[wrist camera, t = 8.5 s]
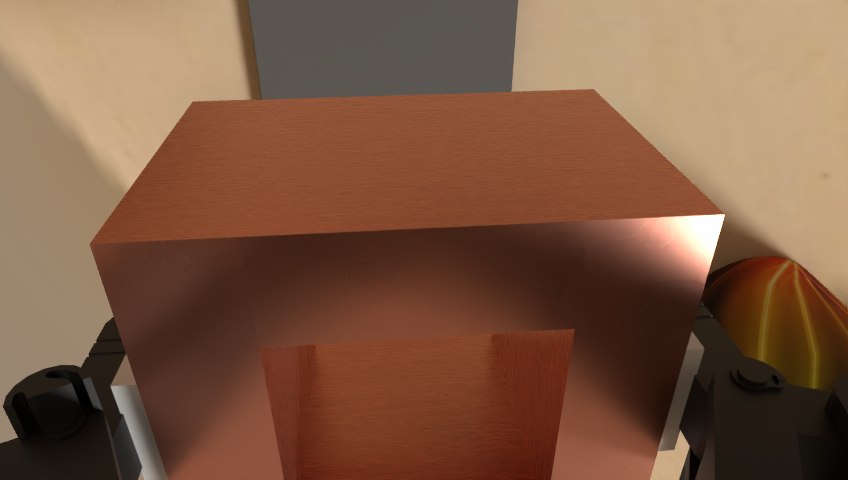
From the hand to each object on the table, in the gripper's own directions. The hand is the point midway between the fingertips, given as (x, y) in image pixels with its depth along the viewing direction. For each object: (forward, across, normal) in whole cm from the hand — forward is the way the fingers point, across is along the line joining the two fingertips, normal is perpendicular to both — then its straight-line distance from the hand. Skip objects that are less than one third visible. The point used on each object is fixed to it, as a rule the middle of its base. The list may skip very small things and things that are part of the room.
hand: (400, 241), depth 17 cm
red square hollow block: (-1, 0, 0) cm, 1 cm away
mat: (+15, 0, 0) cm, 15 cm away
